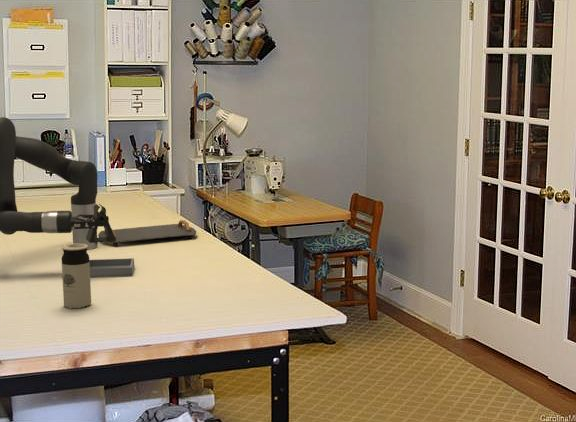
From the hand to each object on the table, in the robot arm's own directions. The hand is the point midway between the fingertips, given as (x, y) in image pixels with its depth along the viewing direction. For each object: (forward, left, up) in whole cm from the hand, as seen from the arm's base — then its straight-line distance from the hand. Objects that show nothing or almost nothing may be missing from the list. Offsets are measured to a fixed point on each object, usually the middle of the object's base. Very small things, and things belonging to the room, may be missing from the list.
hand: (107, 221), depth 312 cm
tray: (0, 0, -18) cm, 18 cm away
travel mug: (+40, -6, -18) cm, 44 cm away
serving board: (-55, +11, -18) cm, 59 cm away
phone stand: (0, -2, -7) cm, 7 cm away
